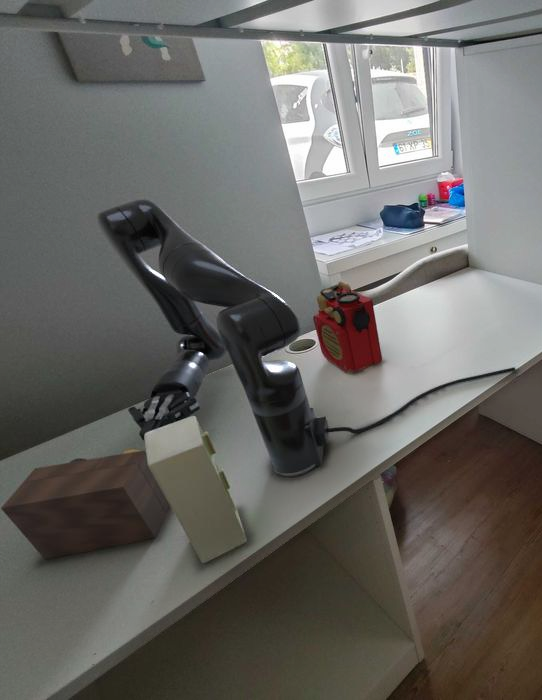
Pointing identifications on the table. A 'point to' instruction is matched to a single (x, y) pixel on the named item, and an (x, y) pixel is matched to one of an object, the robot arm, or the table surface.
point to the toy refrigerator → (195, 487)
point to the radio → (347, 328)
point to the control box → (88, 505)
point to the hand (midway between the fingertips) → (147, 437)
